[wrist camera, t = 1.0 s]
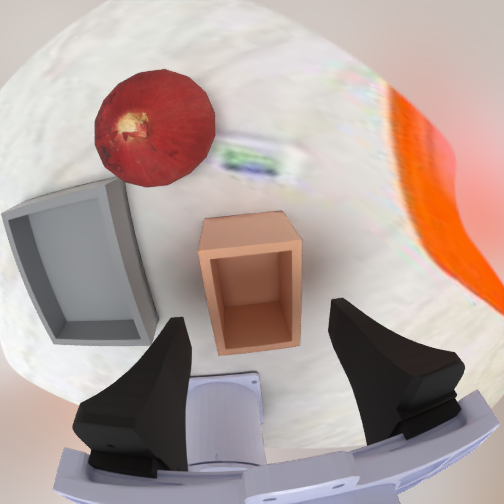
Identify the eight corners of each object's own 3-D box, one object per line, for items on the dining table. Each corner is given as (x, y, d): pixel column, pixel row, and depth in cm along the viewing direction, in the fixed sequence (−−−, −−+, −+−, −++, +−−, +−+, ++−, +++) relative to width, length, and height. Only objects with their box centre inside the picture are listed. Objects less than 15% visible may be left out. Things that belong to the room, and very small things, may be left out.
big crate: (158, 319, 21) (151, 345, 18) (67, 322, 20) (53, 344, 18) (123, 175, 16) (105, 184, 13) (24, 201, 16) (1, 213, 13)
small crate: (285, 300, 21) (300, 345, 16) (218, 308, 21) (218, 355, 16) (282, 210, 18) (301, 239, 13) (204, 218, 18) (197, 250, 13)
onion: (147, 189, 17) (94, 235, 9) (111, 111, 14) (37, 106, 7) (231, 150, 16) (236, 166, 9) (196, 68, 14) (172, 21, 6)
